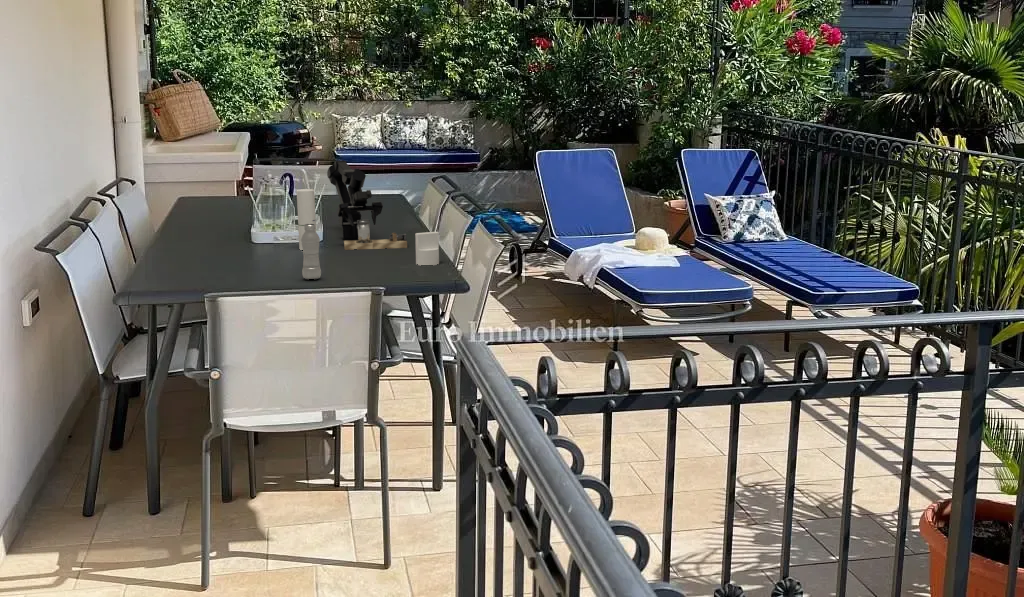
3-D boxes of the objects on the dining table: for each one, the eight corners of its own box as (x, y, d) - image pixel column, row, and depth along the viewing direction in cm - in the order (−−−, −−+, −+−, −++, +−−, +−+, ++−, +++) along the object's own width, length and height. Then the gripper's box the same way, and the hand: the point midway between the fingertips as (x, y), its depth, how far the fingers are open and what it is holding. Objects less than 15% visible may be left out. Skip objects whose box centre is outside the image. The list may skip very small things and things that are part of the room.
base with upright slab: (421, 266, 388) (420, 235, 385) (412, 262, 396) (411, 232, 393) (442, 264, 392) (442, 233, 389) (433, 260, 400) (433, 230, 397)
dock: (344, 249, 422) (344, 236, 421) (344, 246, 430) (343, 233, 428) (407, 247, 427) (406, 234, 425) (405, 244, 434) (405, 231, 433)
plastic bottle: (303, 277, 368) (300, 223, 363) (322, 277, 368) (320, 223, 364) (301, 281, 362) (298, 226, 357) (320, 281, 362) (318, 225, 357)
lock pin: (389, 241, 427) (389, 235, 427) (389, 240, 430) (389, 234, 429) (406, 240, 429) (406, 234, 428) (406, 239, 431) (405, 233, 431)
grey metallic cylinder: (358, 248, 424) (357, 221, 422) (357, 246, 430) (356, 219, 427) (371, 248, 425) (370, 221, 423) (370, 246, 431) (369, 219, 428)
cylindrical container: (320, 249, 424) (317, 189, 418) (310, 252, 417) (307, 191, 412) (306, 247, 427) (303, 188, 421) (295, 250, 420) (293, 190, 415)
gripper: (337, 184, 422) (345, 214, 414) (380, 182, 429) (389, 212, 422) (333, 201, 430) (341, 230, 423) (376, 198, 438) (384, 227, 430)
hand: (364, 225), depth 424 cm, fingers open, 9 cm apart
